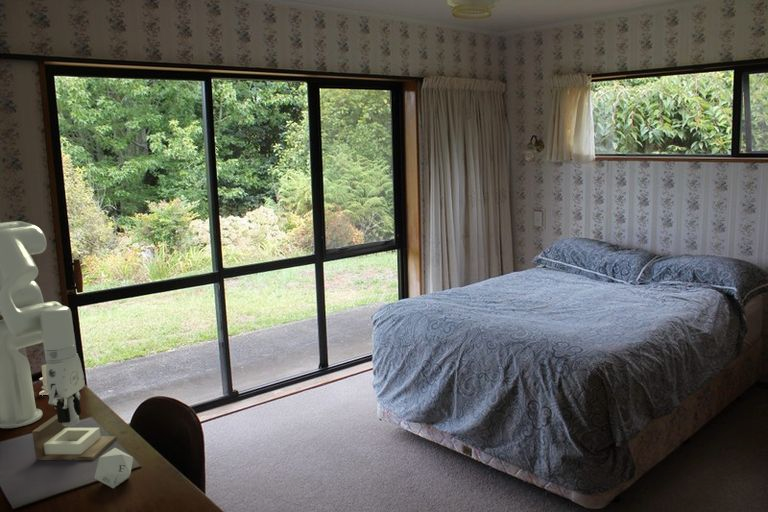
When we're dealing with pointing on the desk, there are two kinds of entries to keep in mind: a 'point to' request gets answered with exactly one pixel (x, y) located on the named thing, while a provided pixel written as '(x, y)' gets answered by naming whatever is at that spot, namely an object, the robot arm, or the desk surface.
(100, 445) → the wooden bookend
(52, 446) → the socket block
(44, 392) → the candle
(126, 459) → the die
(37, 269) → the robot arm
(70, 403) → the rook chess piece
